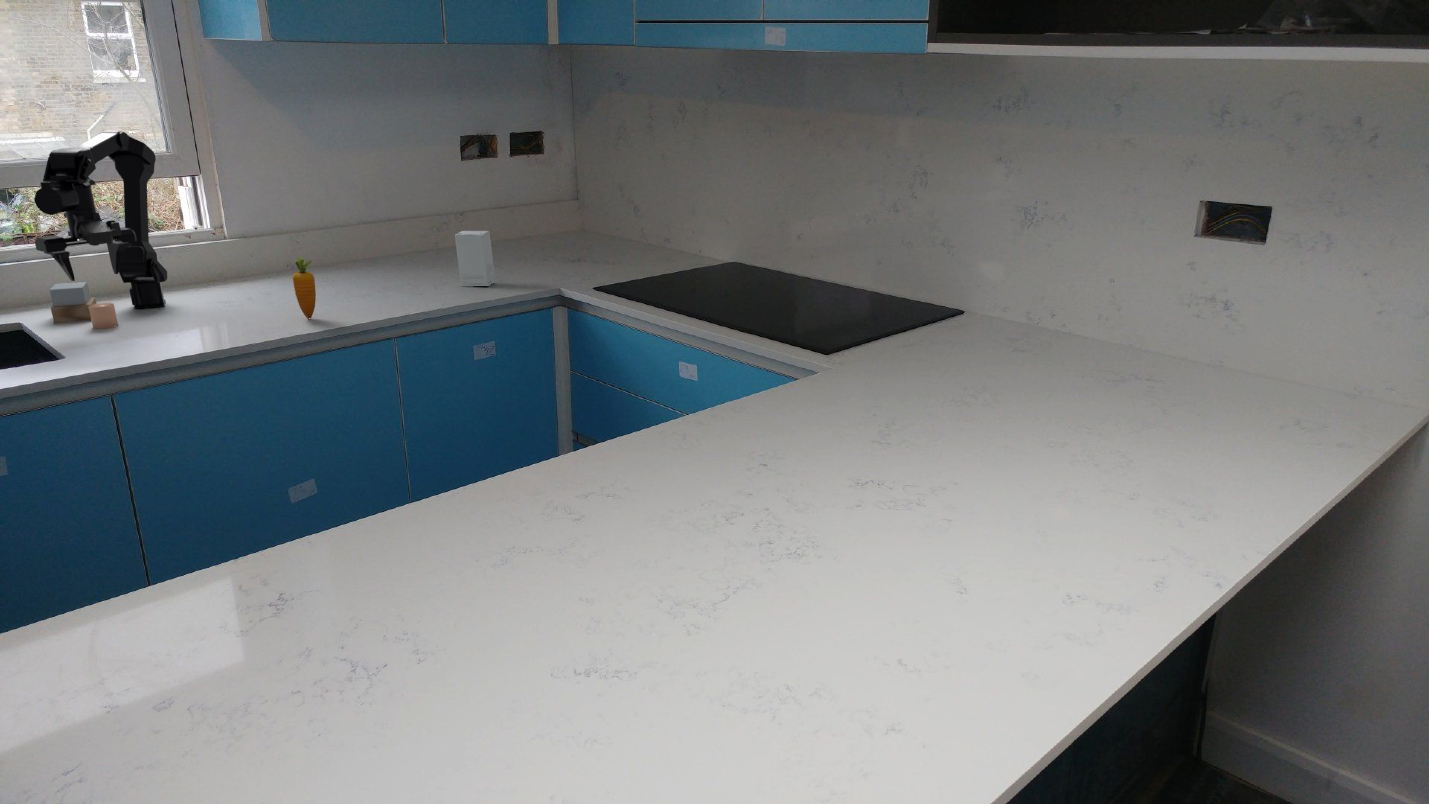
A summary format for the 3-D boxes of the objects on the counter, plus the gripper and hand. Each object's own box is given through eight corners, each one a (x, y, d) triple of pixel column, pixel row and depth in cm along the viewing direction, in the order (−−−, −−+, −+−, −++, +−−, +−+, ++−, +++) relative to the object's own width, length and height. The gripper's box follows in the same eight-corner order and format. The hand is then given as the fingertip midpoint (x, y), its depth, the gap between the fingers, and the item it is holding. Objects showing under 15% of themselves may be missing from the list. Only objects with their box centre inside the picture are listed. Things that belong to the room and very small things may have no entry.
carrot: (301, 316, 228) (293, 255, 223) (322, 316, 229) (314, 255, 224) (295, 321, 224) (285, 259, 219) (316, 321, 224) (308, 259, 219)
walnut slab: (98, 313, 231) (95, 297, 229) (94, 320, 224) (90, 304, 223) (59, 316, 227) (56, 300, 226) (54, 324, 221) (50, 307, 219)
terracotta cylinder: (119, 322, 222) (114, 302, 220) (117, 327, 217) (112, 306, 216) (94, 324, 220) (89, 304, 218) (91, 330, 215) (87, 308, 214)
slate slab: (90, 298, 228) (87, 281, 227) (86, 304, 223) (82, 287, 221) (58, 300, 226) (55, 284, 224) (53, 306, 220) (49, 289, 219)
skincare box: (495, 283, 265) (492, 230, 260) (487, 288, 259) (483, 234, 254) (467, 282, 266) (463, 229, 261) (458, 286, 260) (454, 232, 255)
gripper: (49, 216, 198) (66, 289, 203) (142, 206, 212) (155, 274, 218) (26, 211, 204) (43, 282, 209) (117, 202, 218) (131, 269, 224)
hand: (94, 277), depth 215 cm, fingers open, 9 cm apart
